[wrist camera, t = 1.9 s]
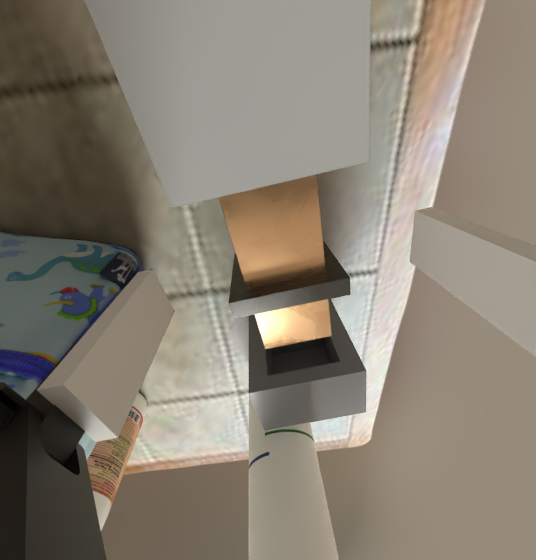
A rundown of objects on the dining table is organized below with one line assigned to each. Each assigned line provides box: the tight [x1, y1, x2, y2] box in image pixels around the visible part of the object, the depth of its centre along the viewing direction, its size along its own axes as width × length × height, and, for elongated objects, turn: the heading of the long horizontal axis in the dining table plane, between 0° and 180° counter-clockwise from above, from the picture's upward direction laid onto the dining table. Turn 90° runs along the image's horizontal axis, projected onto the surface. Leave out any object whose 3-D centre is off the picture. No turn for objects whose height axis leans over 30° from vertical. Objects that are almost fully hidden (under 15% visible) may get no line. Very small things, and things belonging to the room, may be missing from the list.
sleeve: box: [85, 0, 371, 208], centre depth 13 cm, size 9×9×13 cm
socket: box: [249, 299, 366, 431], centre depth 24 cm, size 6×9×13 cm, turn 102°
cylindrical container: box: [249, 395, 339, 560], centre depth 25 cm, size 7×7×25 cm
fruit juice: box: [87, 392, 147, 530], centre depth 25 cm, size 9×9×28 cm
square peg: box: [219, 174, 350, 349], centre depth 14 cm, size 21×7×7 cm, turn 12°
